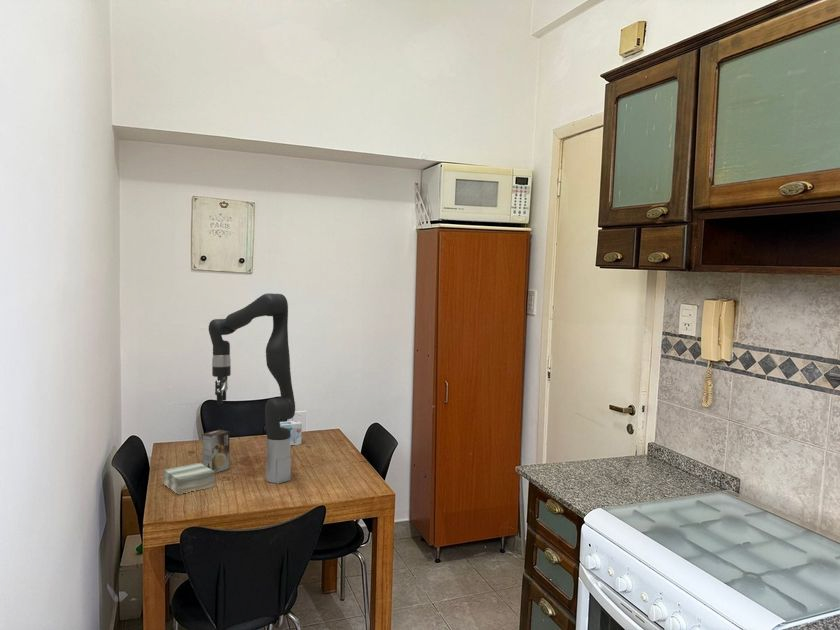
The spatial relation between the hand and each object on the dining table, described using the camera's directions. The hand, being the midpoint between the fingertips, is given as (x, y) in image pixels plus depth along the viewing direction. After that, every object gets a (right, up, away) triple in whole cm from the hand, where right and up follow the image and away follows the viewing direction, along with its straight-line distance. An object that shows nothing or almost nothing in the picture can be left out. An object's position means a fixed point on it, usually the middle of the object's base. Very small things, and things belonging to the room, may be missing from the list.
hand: (221, 402), depth 253 cm
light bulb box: (+22, -26, +33) cm, 47 cm away
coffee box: (0, -27, -8) cm, 29 cm away
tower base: (-3, -28, -27) cm, 39 cm away
